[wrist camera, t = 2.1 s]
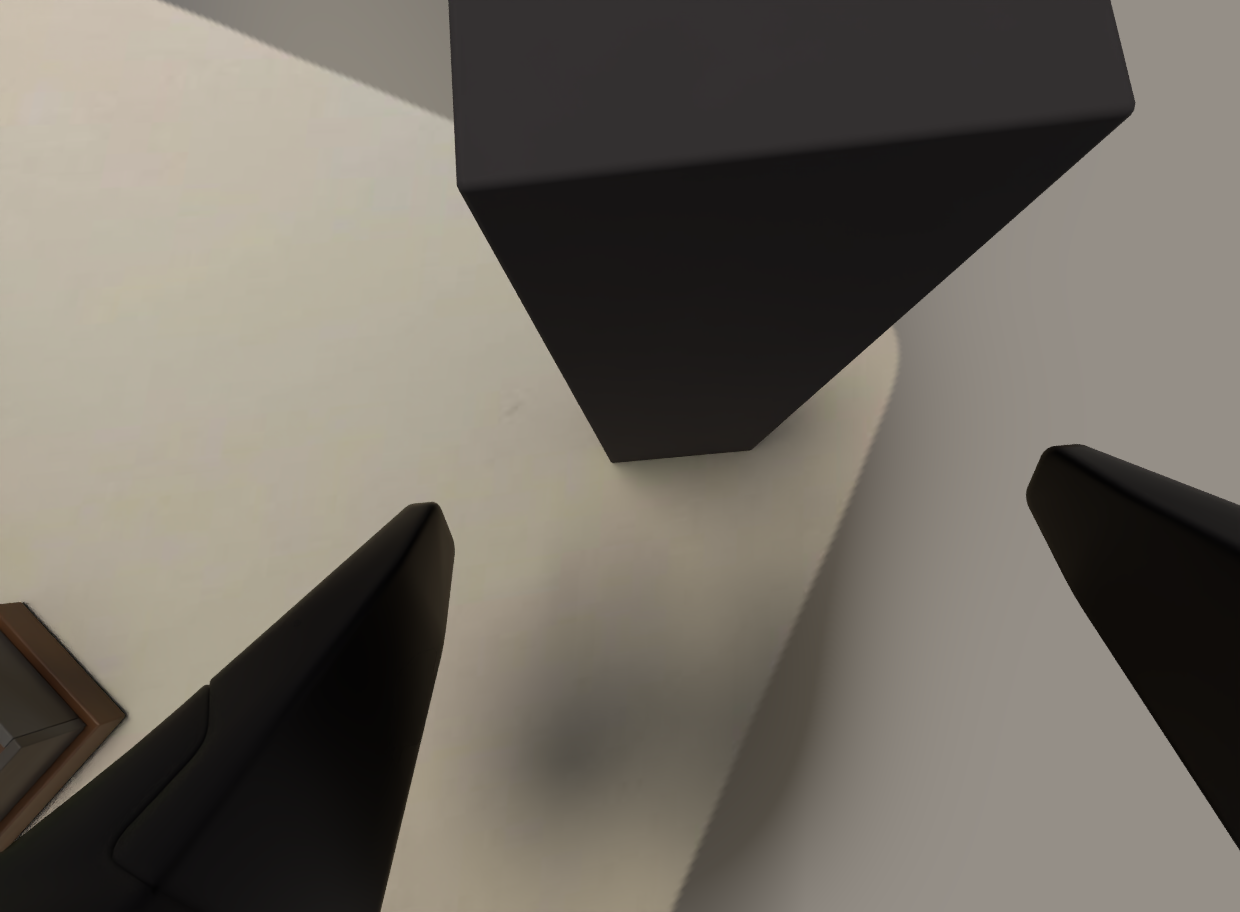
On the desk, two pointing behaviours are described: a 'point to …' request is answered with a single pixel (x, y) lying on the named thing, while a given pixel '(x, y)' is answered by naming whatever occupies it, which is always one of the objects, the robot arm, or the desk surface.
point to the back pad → (755, 181)
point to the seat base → (42, 718)
